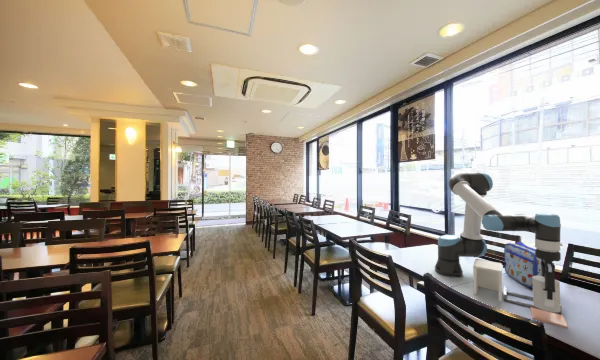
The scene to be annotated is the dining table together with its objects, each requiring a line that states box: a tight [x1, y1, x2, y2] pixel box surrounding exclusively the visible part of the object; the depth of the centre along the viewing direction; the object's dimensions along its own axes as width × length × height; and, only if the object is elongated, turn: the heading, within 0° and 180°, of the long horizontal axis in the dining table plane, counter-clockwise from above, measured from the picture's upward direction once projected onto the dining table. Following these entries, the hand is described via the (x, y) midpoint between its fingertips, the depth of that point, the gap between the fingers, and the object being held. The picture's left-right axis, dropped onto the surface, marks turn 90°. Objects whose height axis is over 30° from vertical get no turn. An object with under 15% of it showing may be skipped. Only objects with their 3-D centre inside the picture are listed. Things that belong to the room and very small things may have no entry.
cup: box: [532, 276, 562, 312], centre depth 101 cm, size 8×8×12 cm
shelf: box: [472, 258, 503, 302], centre depth 123 cm, size 11×14×15 cm
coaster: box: [529, 307, 569, 329], centre depth 101 cm, size 10×10×1 cm
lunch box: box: [502, 241, 542, 289], centre depth 137 cm, size 28×10×22 cm, turn 168°
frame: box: [503, 286, 562, 315], centre depth 113 cm, size 19×11×4 cm, turn 49°
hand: (547, 302), depth 101 cm, fingers closed on cup, 8 cm apart
